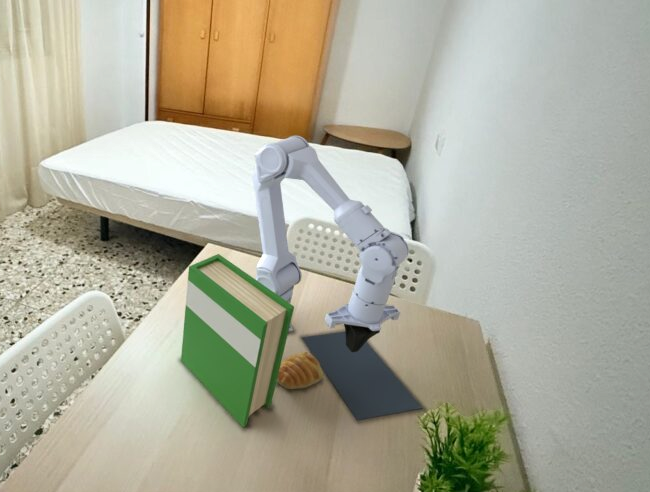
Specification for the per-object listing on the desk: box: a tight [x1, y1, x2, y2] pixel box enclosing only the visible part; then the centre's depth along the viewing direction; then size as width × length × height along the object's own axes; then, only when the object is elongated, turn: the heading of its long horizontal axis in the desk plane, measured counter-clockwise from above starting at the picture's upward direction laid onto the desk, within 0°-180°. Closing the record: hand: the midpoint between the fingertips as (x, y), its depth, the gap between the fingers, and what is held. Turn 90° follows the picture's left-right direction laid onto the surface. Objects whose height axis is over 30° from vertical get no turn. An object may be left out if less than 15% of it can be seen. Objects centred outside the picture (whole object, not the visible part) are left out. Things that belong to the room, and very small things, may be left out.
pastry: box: [276, 351, 324, 390], centre depth 80 cm, size 9×7×4 cm
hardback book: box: [180, 253, 295, 428], centre depth 74 cm, size 18×7×24 cm, turn 36°
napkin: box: [301, 331, 423, 421], centre depth 83 cm, size 20×14×1 cm
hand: (351, 348), depth 80 cm, fingers closed
